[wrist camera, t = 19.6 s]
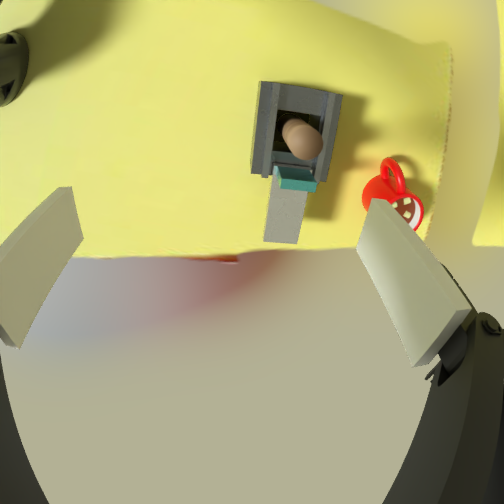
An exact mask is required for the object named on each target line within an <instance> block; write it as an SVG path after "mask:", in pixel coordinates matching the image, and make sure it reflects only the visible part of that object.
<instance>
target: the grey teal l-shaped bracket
mask: <svg viewBox="0 0 504 504" xmlns="http://www.w3.org/2000/svg"><path fill="white" fill-rule="evenodd" d="M316 187H317V181H316V180H315V178H314V177H313V175H312V169H311V168H310V167H304V166H296V165H288V164H279V163H273V168H272V175H271V183H270V190H269V197H268V204H267V211H266V218H265V225H264V232H263V241H264V242H277V243H290V244H297V241H298V237H299V232H300V228H301V223H302V219H303V214H304V209H305V204H306V199H307V194H308V192H315V191H316Z"/></svg>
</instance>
